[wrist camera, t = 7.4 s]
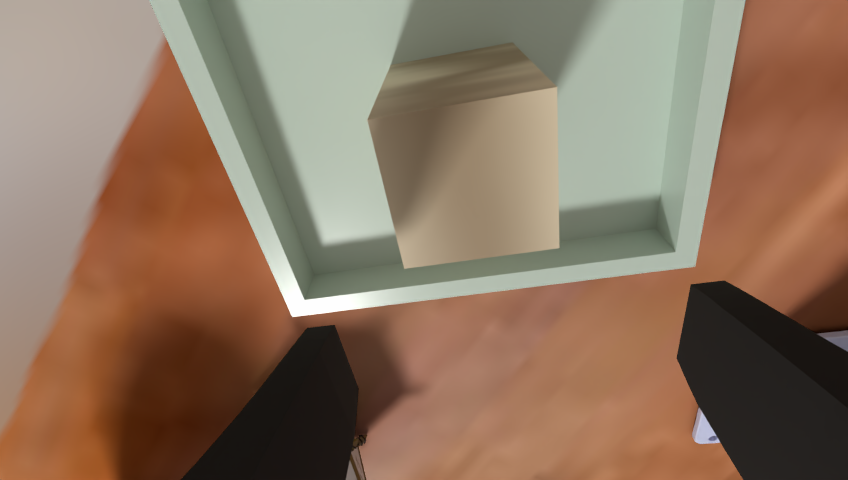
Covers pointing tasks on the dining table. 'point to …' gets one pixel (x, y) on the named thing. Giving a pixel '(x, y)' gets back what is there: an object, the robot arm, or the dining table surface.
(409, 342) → the dining table surface
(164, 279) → the dining table surface
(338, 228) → the sorting tray
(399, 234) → the maple block
